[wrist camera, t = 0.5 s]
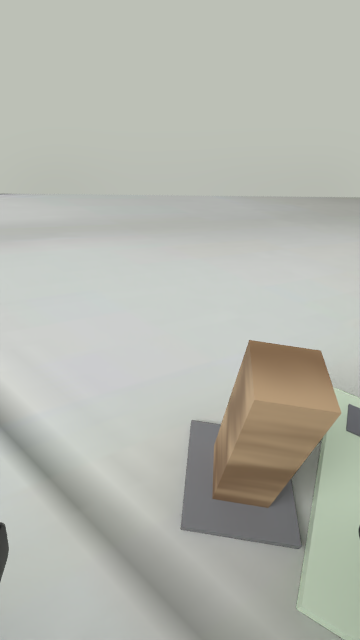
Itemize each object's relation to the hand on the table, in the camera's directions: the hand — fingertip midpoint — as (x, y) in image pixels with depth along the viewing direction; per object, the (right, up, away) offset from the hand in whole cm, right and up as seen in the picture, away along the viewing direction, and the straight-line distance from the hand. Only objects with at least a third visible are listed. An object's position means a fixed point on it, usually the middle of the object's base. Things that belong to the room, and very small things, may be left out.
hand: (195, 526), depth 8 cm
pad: (+4, -7, +16) cm, 18 cm away
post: (+4, -7, +16) cm, 18 cm away
